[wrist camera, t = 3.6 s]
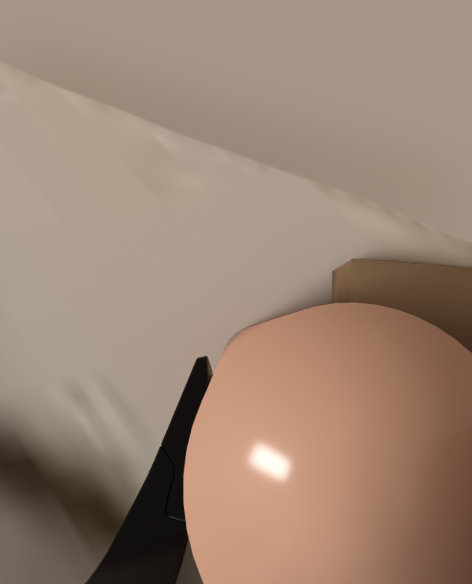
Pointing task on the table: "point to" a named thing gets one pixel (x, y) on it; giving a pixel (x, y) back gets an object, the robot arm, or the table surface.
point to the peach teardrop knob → (334, 453)
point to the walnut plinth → (411, 292)
